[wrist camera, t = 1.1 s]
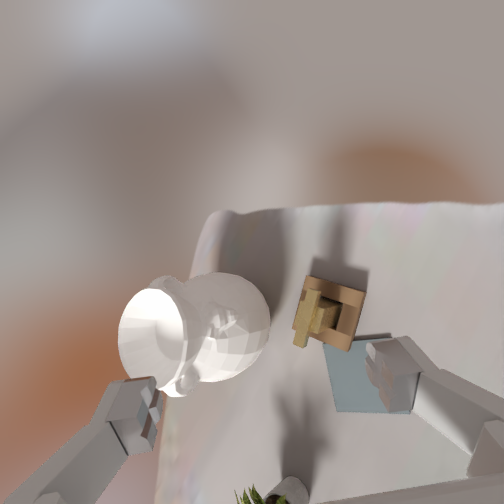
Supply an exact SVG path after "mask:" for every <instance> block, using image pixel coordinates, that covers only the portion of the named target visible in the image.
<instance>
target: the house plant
mask: <svg viewBox="0 0 504 504" xmlns="http://www.w3.org/2000/svg"><path fill="white" fill-rule="evenodd" d="M249 492H250V496H251V498H252V500H253V502H254V503H255V504H309V495H308V491H307V489H306V487H305V485H304V484H303V483H302V482H301V481H300V480H299V479H298V478H296V477H293V476H288V477H286V478H285V479H284V480H283V481H281V482H280V483H279V484H278V485H277V486H276V487H275V488H274V489H273V490H272V491H270V492H269V493H268V494H267V495H266V496H265V498H264V499H262V498H261V496H260V495H259V494H258V493H257V491H256V490H255V488H254V485H253V488H252V491H251V489H250V488H249ZM235 494H236V492H235ZM236 498H237V495H236ZM240 499H241V502H242V504H251V502H250V500H249V498H248V496H247V494H246V492H245V489H244V494H243V500H242V498H241V496H240ZM237 503H238V504H239V501H238V498H237Z"/></svg>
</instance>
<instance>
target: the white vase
mask: <svg viewBox="0 0 504 504" xmlns="http://www.w3.org/2000/svg"><path fill="white" fill-rule="evenodd" d="M164 287H165V288H166V289H165V288H164ZM270 326H271V321H270V313H269V307H268V305H267V303H266V301H265V299H264V296H263V294H262V293H261V292H260V291H259V290H258V289H257V288H256V286H255V285H254V284H252V283H251V282H249V281H248V280H246V279H244V278H242V277H241V276H239V275H234V274H228V273H221V272H215V273H208V274H204V275H200V276H196V277H194V278H192V279H190V280H188V281H186V282H185V283H182V282H180V281H179V280H177V279H176V278H175V277H173V276H168V275H166V276H162V277H159V278H157V279H155V280H153V281H152V282H151V284H150V285H149V287H148V288H145V289H143V290H141V291H140V292H139V293H137V294H136V295H135V296H134V297H133V298H132V300H131V301H130V302H129V303H128V304H127V306H126V308H125V311H124V313H123V315H122V318H121V321H120V325H119V333H118V348H119V353H120V358H121V361H122V363H123V366H124V368H125V370H126V372H127V373H128V375H129V376H130V378H131V379H132V378H140V377H147V376H154V377H155V379H156V381H157V384H156V388H157V389H158V390H163V391H164V392H165V393H166V394H167V395H169V396H170V397H183V396H186V395H188V394H189V393H191V392H192V391H193V390H194V389H195V387H196V385H197V384H198V382H199V381H204V382H216V381H221V380H225V379H228V378H232V377H234V376H235V375H237V374H239V373H240V372H242V371H243V370H245V369H246V368H247V367H249V366H250V365H251V364H253V363H254V362H255V360H256V359H257V357H258V356H259V354H260V353H261V351H262V349H263V348H264V346H265V345H266V343H267V341H268V338H269V332H270ZM181 377H182V380H181V383H180V381H179V379H180V378H181Z"/></svg>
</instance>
